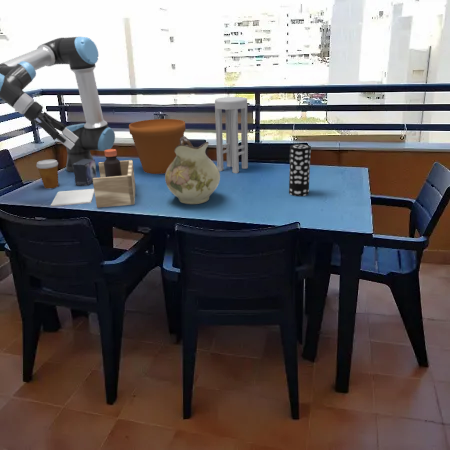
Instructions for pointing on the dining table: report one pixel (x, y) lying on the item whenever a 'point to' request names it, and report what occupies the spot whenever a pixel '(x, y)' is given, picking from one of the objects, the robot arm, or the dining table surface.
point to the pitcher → (192, 173)
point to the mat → (73, 197)
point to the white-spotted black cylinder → (299, 169)
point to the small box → (84, 172)
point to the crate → (115, 186)
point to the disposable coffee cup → (48, 173)
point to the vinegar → (112, 164)
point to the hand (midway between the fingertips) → (74, 143)
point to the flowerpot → (156, 142)
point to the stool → (231, 132)
